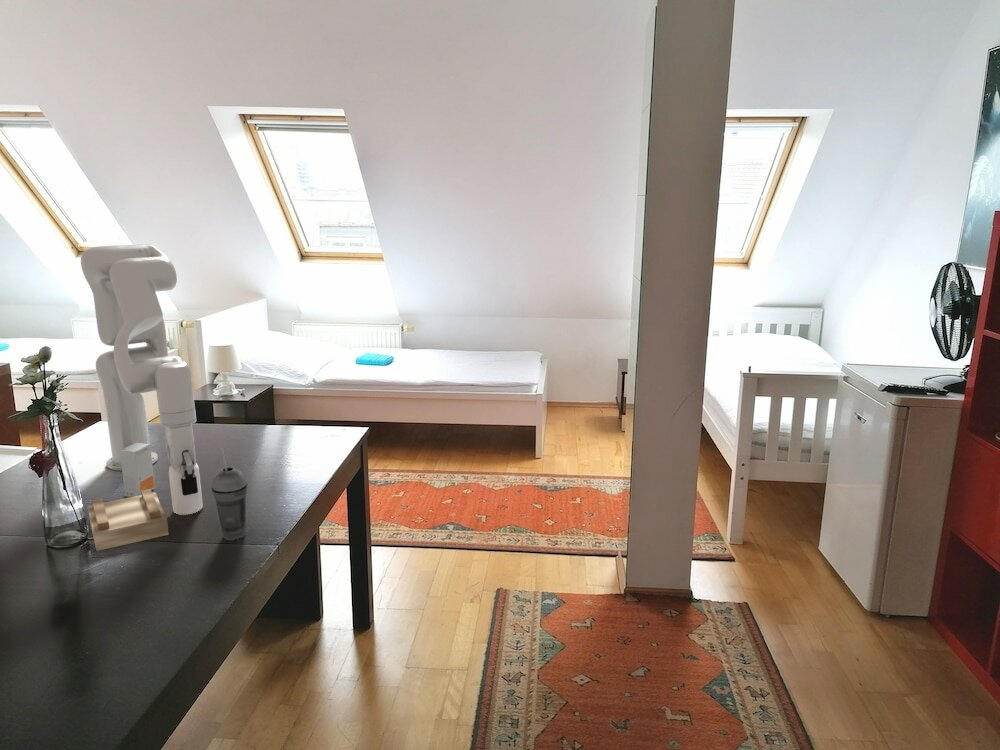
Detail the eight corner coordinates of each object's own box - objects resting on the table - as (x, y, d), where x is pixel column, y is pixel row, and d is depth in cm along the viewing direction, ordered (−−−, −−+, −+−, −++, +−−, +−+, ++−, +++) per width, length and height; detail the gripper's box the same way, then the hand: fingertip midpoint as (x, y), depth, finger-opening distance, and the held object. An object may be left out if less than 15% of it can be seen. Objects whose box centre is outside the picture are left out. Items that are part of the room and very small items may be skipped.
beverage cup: (231, 546, 155) (222, 457, 150) (209, 537, 159) (200, 451, 154) (258, 533, 161) (251, 447, 156) (236, 525, 165) (229, 441, 160)
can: (174, 518, 168) (168, 469, 165) (172, 507, 173) (166, 460, 170) (204, 512, 171) (199, 464, 168) (201, 502, 176) (196, 455, 173)
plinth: (89, 522, 166) (86, 499, 164) (157, 508, 173) (154, 486, 172) (96, 551, 153) (92, 527, 151) (168, 534, 160) (165, 511, 159)
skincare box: (140, 498, 178) (134, 452, 175) (124, 496, 179) (118, 450, 176) (156, 488, 184) (150, 443, 181) (141, 487, 185) (135, 442, 182)
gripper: (154, 410, 171) (162, 478, 175) (166, 429, 157) (175, 503, 161) (188, 405, 175) (195, 472, 179) (203, 423, 161) (211, 495, 165)
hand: (186, 487), depth 170 cm, fingers open, 9 cm apart
